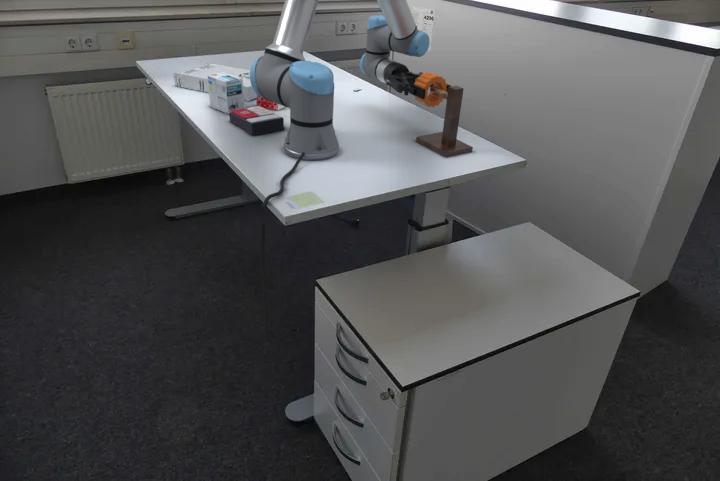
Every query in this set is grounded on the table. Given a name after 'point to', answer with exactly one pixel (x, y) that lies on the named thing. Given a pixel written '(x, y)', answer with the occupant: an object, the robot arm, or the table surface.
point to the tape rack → (447, 126)
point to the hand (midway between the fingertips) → (437, 92)
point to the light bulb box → (225, 92)
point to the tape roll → (425, 83)
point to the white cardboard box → (201, 79)
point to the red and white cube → (268, 104)
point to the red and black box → (257, 120)
